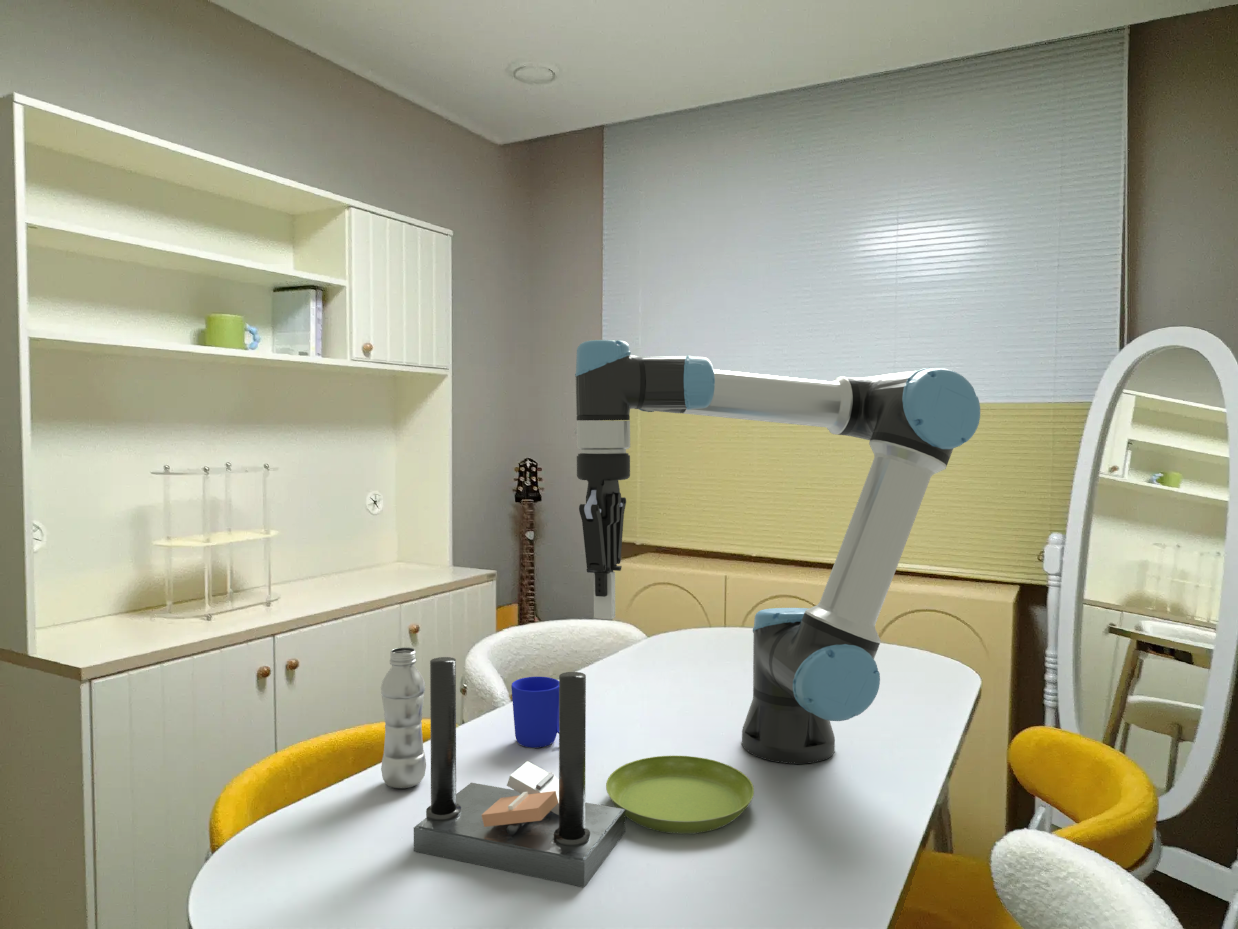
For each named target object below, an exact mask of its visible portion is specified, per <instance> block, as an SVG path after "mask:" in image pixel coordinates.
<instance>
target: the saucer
mask: <svg viewBox="0 0 1238 929" xmlns="http://www.w3.org/2000/svg"><path fill="white" fill-rule="evenodd" d="M605 788H606V790H605V791H606V793H607V795H608V797H609V798H610V800H611V802H612V803H613V805H614V807H615V808H621V809H625V818H627V819H629V820H630V821H632V822H634V823H636V824H637V825H639V826H641V827H644V828H646V829H649V830H652V831H656V832H662V833H667V834H679V835H683V834H684V835H686V834H687V835H688V834H689V835H690V834H691V835H692V834H693V835H694V834H699V833H700V834H701V833H706V832H710V831H714V830H717V829H720V828H723V827H724V826H726V825H729V824H730V823H732V822H733V821H734V820H736V819H737V818H738V817H740V815H741V814H743V812H744V811H745V810H746V809H747V808H748V806H749V805H750V803H751V802H752V801H753V800H752V799H753V798H754V796H755V788H754V784H753V782H752V781H751V780H750V778H749V777H748V776H747V775H746V774H744V773H743V772H742V771H740V770H738V769H737V768H735V767H733V766H731V765H730V764H729V765H728V764H726V763H724V762H722V761H721V762H720V761H717V760H714V759H709V758H706V757H704V758H703V757H699V756H690V755H658V756H651V757H645V758H640V759H636V760H633V761H630V762H628V763H625V764H623V765H621V766H619V767H618V768H616V769H615V770H613V771H612V772H611V774H610V775H609V776H608V778H607V779H606V783H605Z"/></svg>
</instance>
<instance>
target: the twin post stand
mask: <svg viewBox="0 0 1238 929" xmlns="http://www.w3.org/2000/svg"><path fill="white" fill-rule="evenodd" d="M429 664H430V666H429V667H430V668H429V669H430V670H429V671H430V672H429V676H430V677H429V678H430V679H429V680H430V681H429V682H430V684H429V685H430V687H429V688H430V689H429V690H430V691H429V692H430V694H429V695H430V704H429V705H430V714H429V715H430V717H429V718H430V805H429V806H427V808H426V810H425V813H426V814H425V815H426V817H425V818H424V819H423V820H421V821H420V822H418V824H416V825H415V826H414V827H413V852H416V853H417V852H418V853H421V854H426V855H429V856H430V855H431V856H434V857H435V856H436V857H440V858H444V859H448V860H455V861H459V862H463V863H468V864H472V865H476V866H477V865H478V866H483V867H486V868H487V867H488V868H492V869H497V870H499V871H500V870H502V871H505V872H509V873H510V872H511V873H515V874H521V875H525V876H529V877H534V878H539V879H543V880H549V881H554V882H557V883H562V884H568V885H572V886H577V887H582V888H585V887H586V886H587V884H588V883H589V882H590V880H591V879H592V878H593V876H594V875H595V873H596V872H597V871H598V870H599V868H600V867H601V866H602V864H603V863H604V861H605V860H606V858H607V857H608V856H609V854H610V853H611V852H612V851H613V849H614V847H616V845H617V844H618V842H620V839H622V837H623V835H624V834H625V833H626V816H625V809H621V808H617V807H616V806H608V805H602V804H596V803H591V802H586V748H587V747H586V742H587V740H586V736H587V735H586V731H587V730H586V726H587V724H586V723H587V722H586V720H587V717H586V716H587V715H586V714H587V711H586V710H587V708H586V706H587V702H586V701H587V699H586V697H587V695H586V693H587V692H586V690H587V681H586V680H587V679H586V678H587V674H585V673H583V672H579V671H567V672H562V673H560V674H559V675H558V679H559V680H558V681H559V734H558V778H559V815H557V814H555V813H554V812H552V811H550V812H549V813H548V814H547V815H546V816H545V817H544V818H543V819H542V820H541V821H532V822H523V823H514V824H505V825H496V826H488V827H484V823H483V819H482V814H483V813H484V812H485V811H486V810H488V809H489V808H490V807H491V806H492V805H493V804H494V803H496V802H497V801H498V800H499V799H500V798H504V797H511V796H519V795H521V793H519V792H517V791H515V790H514V789H512V788H504V787H499V786H495V785H494V786H493V785H488V784H481V783H477V782H470V783H468V785H466V786H465V787H463V788H462V789H460V790H459V792H457V660H456V658H454V657H450V656H440V657H435V658H431V660H429Z"/></svg>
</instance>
